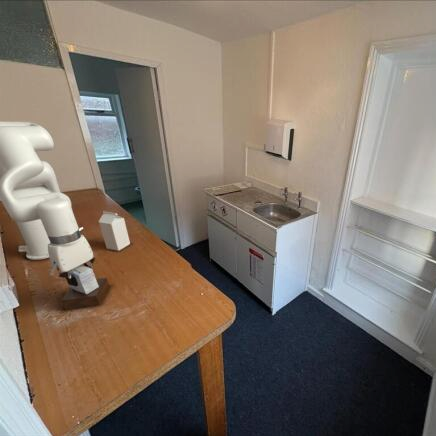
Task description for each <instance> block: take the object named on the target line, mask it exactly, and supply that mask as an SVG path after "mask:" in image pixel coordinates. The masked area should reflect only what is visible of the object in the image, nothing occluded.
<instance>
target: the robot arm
mask: <svg viewBox="0 0 436 436" xmlns="http://www.w3.org/2000/svg"><path fill="white" fill-rule="evenodd" d="M54 148H55V142H54V140H53V137H52V136H51V134H50V133H49V131H48V130H47V129H46V128H44V127H43V126H41V125H40V124H38V123H35V122H34V121H33V122H32V121H4V120H3V121H2V120H1V121H0V202H1V203H2V205H3V207H4V208H5V210H6V212H7V214H8V215H9V216H10V217H11V219H12V220H14V221H15V224H16V225H17V228H18V230H19V232H20V234H21V236H22V238H23V240H24V243H25V245H19V246H18V252H19V253H24V252H25V253H26V254H25V256H26V258H27V259H28V260H31V261H39V260H45V259H49V261H50V264H51V267H52V268H51V271H50V273H49V277H51V278H62V279H63V278H64V279H65V280H66V281H67V284H68V285H69V286H70V285H72V286H75V287H76V286H78V283H77V281H76V278H75V277H74V276H72V269H74V268H76V267H78V266H80V265H83V266H85V267H88V268H91V269H92V270H93V266H94V262H95V261H96V259H97V257H98V256H99V253H98V252H97V251H94V250H92V247H91V245H90V244H89V242H88V240H87V239H86V237H85V236H84V235H83V234H82V231H84V227H83V226H80V227H79V225H78V223H77V220H76V216H75V213H74V211H73V208H72V206H73V205H72V201H71V198H70V197H69V196H68V195H67V194H65V193H63V192H62V191H61V188H60V185H59V182H58V179H57V175H56V173H55V170H54V169H53V167H52V166H51V164H50V163H49V162H47V161H45V160H41V158H40V157H39V156H38V154H37V152H47V151H48V152H49V151H52V150H53V149H54ZM60 271H61V272H60Z"/></svg>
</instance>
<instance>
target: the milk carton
mask: <svg viewBox="0 0 436 436" xmlns="http://www.w3.org/2000/svg"><path fill="white" fill-rule="evenodd" d="M102 213H103V214H102V215H101V217H100V218H99V220H98V225H99V228H100V232H101V235H102V238H103V243H104V244H105V248H106V249H107V250H113V251H117V252H119V251H121V250H123V249H124V248H127V247H128V246H130V245H131V241H130V237H129V234H128V229H127V225H126V221H125V218H124V217H122V216H119V215H118V213H116V212H111V211H106V210H103V211H102Z"/></svg>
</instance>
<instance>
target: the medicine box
mask: <svg viewBox="0 0 436 436" xmlns="http://www.w3.org/2000/svg"><path fill="white" fill-rule="evenodd" d="M72 276H74V277H75V278H76V281H77V283H78V286H76V287H75V286H72V285H69V288H71V289H74V290H77V291H79V292H82V293H84V294H88V293H90V292H91V291H93V290H95V289H96V288H98V287H99V286H98V283H97V281H96V279H97V278H96V276H95V273H94V269H93V268H92V269H91V268H88V267H85V266H84V265H83V264H82V265H80V266H78V267H76V268H74V269H72Z"/></svg>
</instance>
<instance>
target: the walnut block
mask: <svg viewBox="0 0 436 436" xmlns="http://www.w3.org/2000/svg"><path fill="white" fill-rule="evenodd" d="M96 281H97V283H98V286H99V287H98V288H96V289H95V290H93V291H91V292H90V293H88V294H84V293H82V292H79V291H77V290H74V289H71V287H69V288H68V290H67V292H66V293H65V294H64V295H63V297H62V298H61V300H60V302H61V304H62V306H63V308H64V310H65V311H67V310H75V309H82V308H89V307H94V306H100V305H101V303H102V301H103V299H104V298H105V296H106V294H107V292H108V291H109V289H110V283H109V281H108V278H107V277H101V278H96Z"/></svg>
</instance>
